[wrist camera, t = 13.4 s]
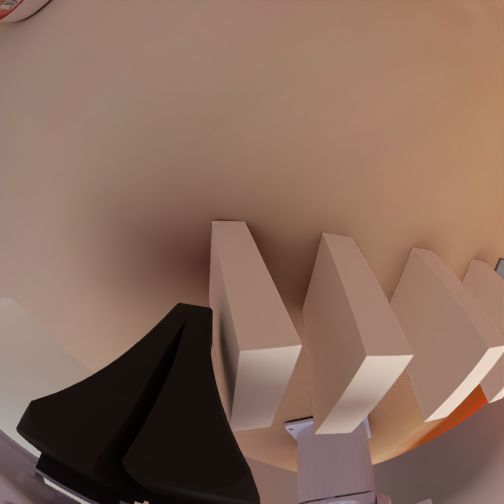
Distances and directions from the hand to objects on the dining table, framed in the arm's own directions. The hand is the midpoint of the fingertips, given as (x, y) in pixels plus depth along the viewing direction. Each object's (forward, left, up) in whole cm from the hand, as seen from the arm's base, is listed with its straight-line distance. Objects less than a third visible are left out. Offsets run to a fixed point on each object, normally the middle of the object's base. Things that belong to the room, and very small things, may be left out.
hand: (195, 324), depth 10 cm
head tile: (0, 0, -5) cm, 5 cm away
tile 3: (-6, -10, -5) cm, 13 cm away
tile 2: (-3, -5, -5) cm, 8 cm away
